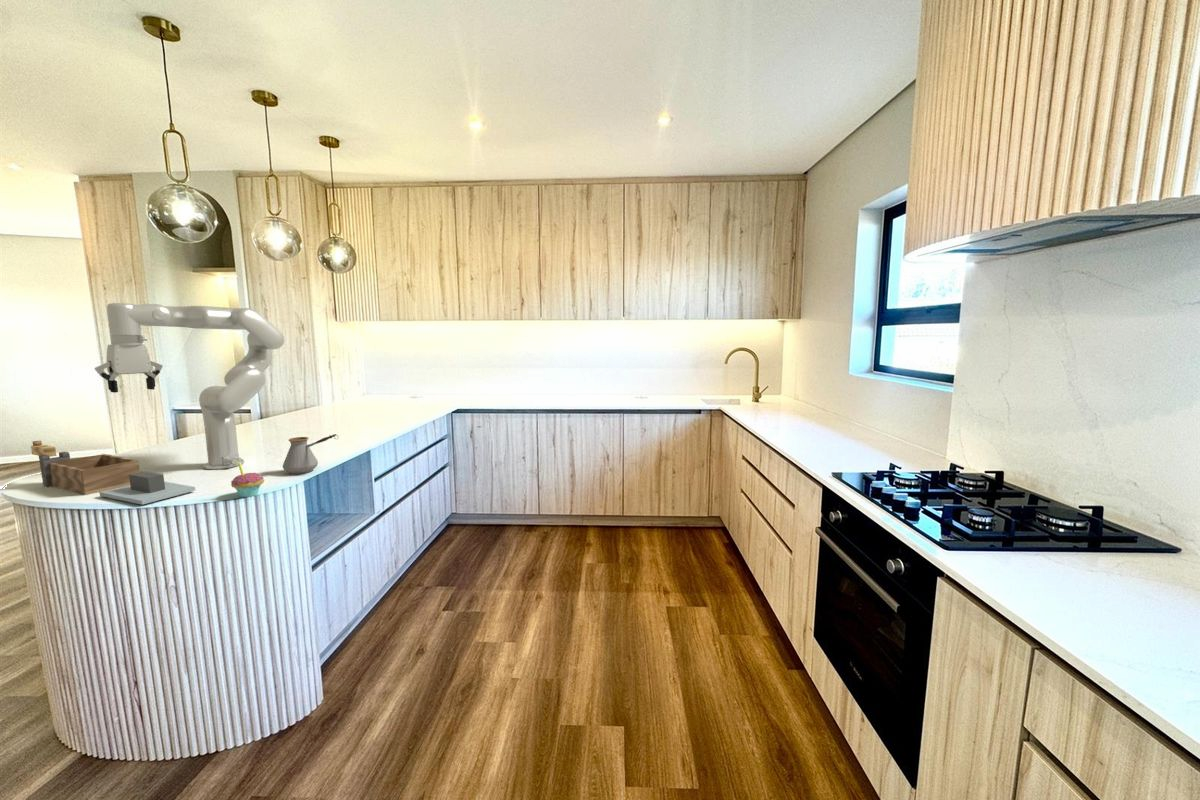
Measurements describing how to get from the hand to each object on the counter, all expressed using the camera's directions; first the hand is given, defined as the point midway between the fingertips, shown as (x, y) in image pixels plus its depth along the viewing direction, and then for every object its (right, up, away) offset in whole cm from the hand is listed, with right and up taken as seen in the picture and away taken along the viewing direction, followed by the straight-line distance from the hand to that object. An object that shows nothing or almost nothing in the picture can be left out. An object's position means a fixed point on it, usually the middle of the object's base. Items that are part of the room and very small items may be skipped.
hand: (133, 390), depth 160 cm
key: (-34, -22, +3) cm, 41 cm away
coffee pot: (+51, -31, +18) cm, 62 cm away
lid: (+14, -34, -9) cm, 38 cm away
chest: (-15, -32, +1) cm, 36 cm away
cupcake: (+46, -34, -8) cm, 57 cm away
